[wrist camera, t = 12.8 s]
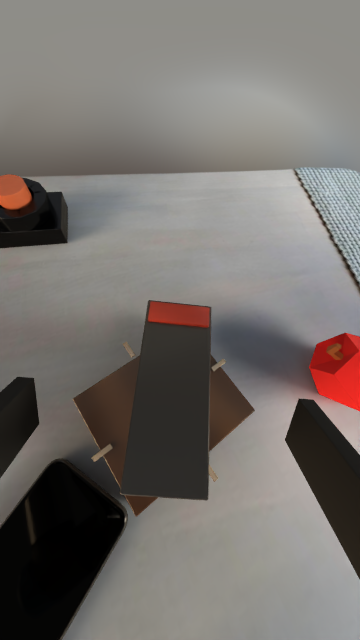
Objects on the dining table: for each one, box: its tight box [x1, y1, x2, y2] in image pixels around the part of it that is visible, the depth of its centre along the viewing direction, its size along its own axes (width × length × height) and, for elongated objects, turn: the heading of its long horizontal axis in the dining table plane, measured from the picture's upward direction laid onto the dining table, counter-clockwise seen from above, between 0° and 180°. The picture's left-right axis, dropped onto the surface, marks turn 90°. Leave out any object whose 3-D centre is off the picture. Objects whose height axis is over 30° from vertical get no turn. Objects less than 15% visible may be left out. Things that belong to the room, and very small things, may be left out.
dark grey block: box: [120, 300, 211, 500], centre depth 14 cm, size 8×3×9 cm, turn 176°
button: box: [0, 175, 32, 210], centre depth 24 cm, size 3×3×2 cm
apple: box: [309, 333, 360, 411], centre depth 21 cm, size 7×7×8 cm
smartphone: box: [0, 459, 128, 640], centre depth 15 cm, size 7×1×15 cm
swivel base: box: [73, 342, 255, 516], centre depth 20 cm, size 12×12×3 cm
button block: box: [0, 178, 68, 248], centre depth 26 cm, size 8×6×4 cm
